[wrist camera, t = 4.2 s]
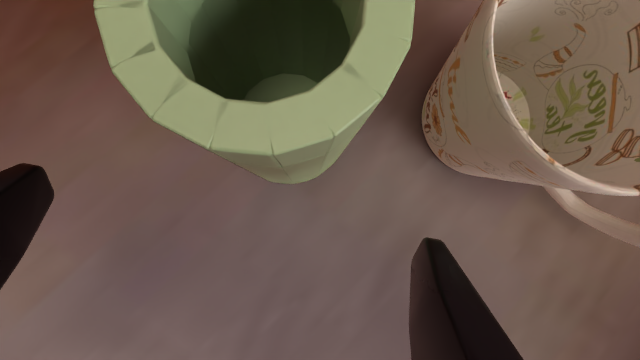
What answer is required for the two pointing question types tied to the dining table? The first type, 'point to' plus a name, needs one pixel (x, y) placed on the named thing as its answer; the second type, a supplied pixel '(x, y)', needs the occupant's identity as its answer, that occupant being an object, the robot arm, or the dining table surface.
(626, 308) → the dining table surface
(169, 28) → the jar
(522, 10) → the mug
